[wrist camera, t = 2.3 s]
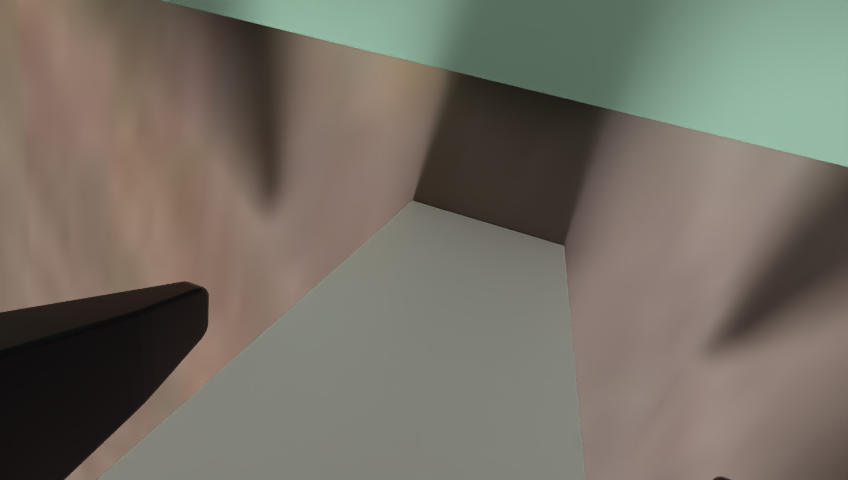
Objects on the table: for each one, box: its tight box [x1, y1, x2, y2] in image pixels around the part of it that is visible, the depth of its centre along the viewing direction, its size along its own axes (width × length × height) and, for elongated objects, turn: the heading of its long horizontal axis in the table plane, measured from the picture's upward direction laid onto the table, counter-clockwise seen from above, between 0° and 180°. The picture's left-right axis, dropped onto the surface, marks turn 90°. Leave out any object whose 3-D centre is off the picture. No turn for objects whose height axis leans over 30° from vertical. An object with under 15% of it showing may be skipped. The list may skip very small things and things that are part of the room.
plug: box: [97, 201, 586, 480], centre depth 6 cm, size 3×6×7 cm, turn 167°
